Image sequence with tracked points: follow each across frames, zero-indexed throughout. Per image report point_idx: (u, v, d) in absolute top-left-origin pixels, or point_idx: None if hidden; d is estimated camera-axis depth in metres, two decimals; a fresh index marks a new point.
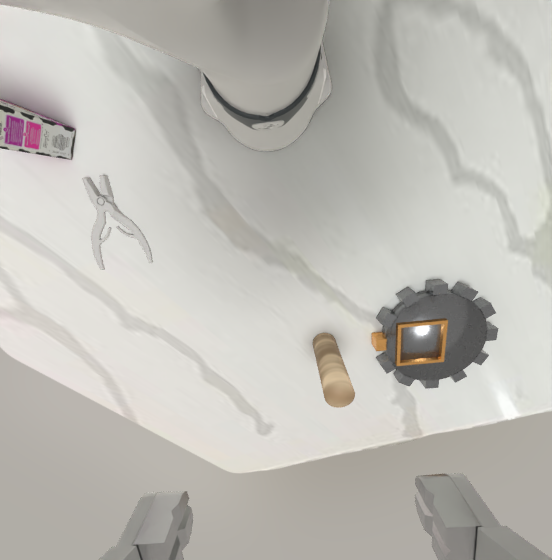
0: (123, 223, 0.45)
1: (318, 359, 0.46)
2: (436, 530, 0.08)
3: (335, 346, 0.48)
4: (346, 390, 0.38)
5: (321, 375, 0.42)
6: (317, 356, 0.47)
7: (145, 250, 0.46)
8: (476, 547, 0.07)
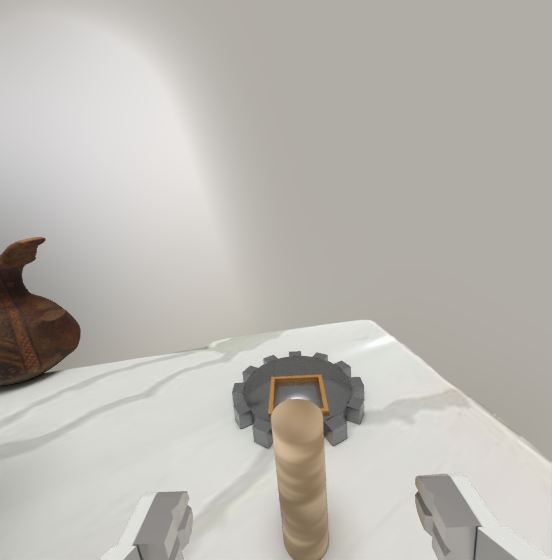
0: None
1: (291, 507, 0.23)
2: (436, 530, 0.08)
3: None
4: (287, 408, 0.24)
5: (290, 472, 0.22)
6: (293, 516, 0.23)
7: None
8: (476, 547, 0.07)
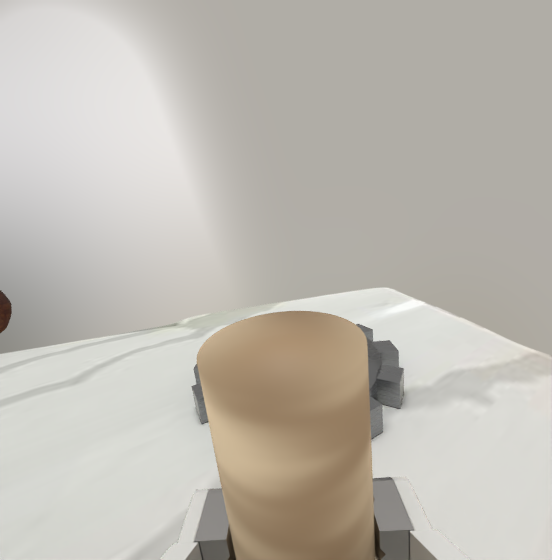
0: None
1: None
2: (376, 533, 0.08)
3: None
4: (255, 327, 0.08)
5: (262, 530, 0.06)
6: None
7: None
8: (409, 550, 0.08)
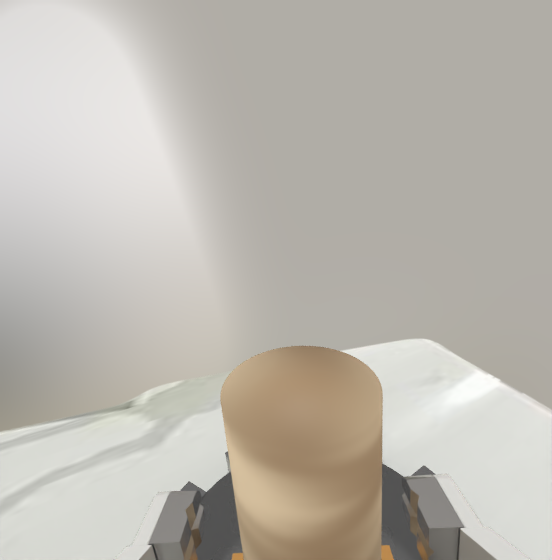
0: None
1: None
2: (421, 531, 0.08)
3: None
4: (272, 364, 0.09)
5: None
6: None
7: None
8: (459, 547, 0.07)
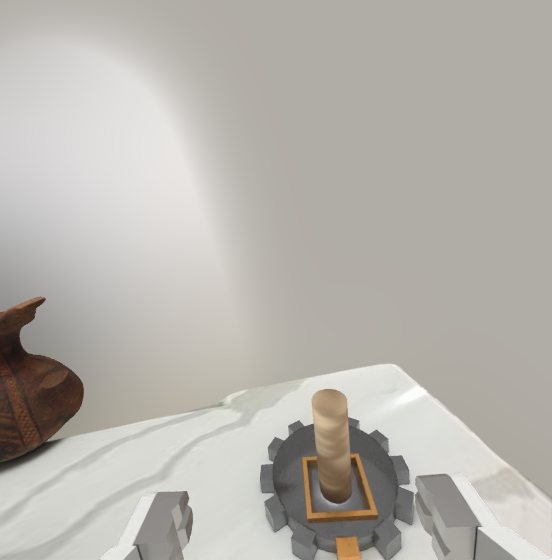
0: None
1: (327, 462, 0.34)
2: (436, 530, 0.08)
3: None
4: (321, 395, 0.35)
5: (327, 437, 0.33)
6: (328, 469, 0.34)
7: None
8: (476, 547, 0.07)
